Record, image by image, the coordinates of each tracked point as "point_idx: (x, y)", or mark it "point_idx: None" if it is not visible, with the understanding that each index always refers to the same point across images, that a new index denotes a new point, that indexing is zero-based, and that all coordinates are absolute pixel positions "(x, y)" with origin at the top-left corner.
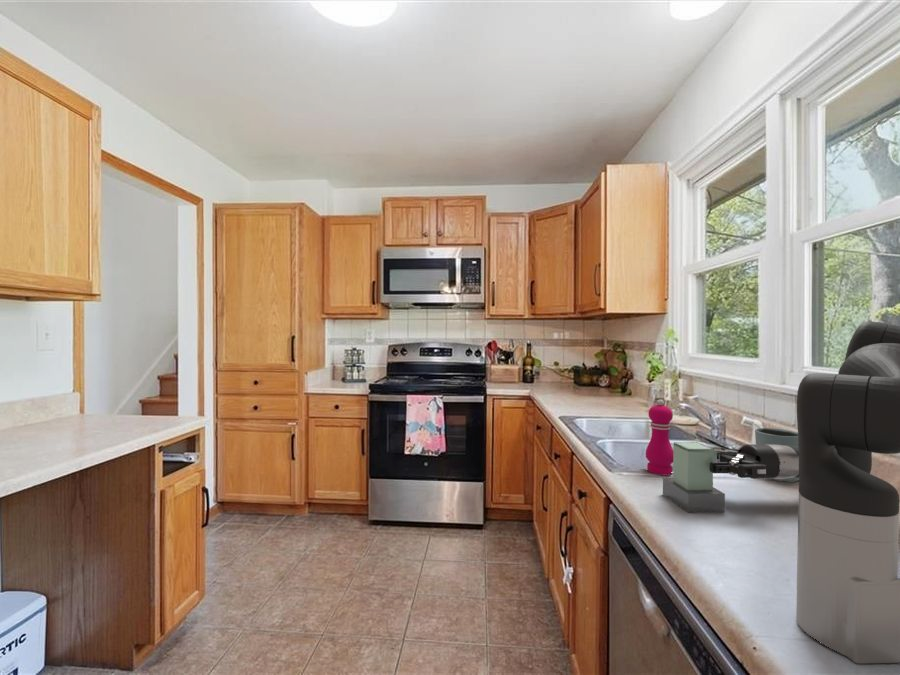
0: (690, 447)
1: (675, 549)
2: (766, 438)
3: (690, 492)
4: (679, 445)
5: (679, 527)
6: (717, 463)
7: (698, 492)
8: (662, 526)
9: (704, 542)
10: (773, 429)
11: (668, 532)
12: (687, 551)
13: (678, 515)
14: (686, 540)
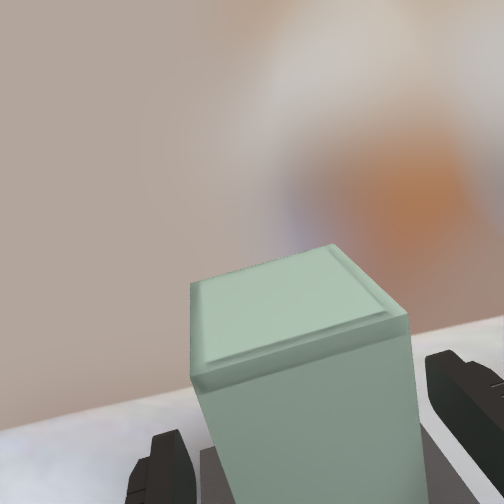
0: (227, 288)
1: (24, 427)
2: None
3: (218, 462)
4: (274, 262)
5: (117, 455)
6: (151, 466)
7: (219, 497)
8: (131, 417)
9: (18, 499)
10: None
11: (98, 425)
12: (5, 448)
13: (198, 469)
14: (47, 457)
